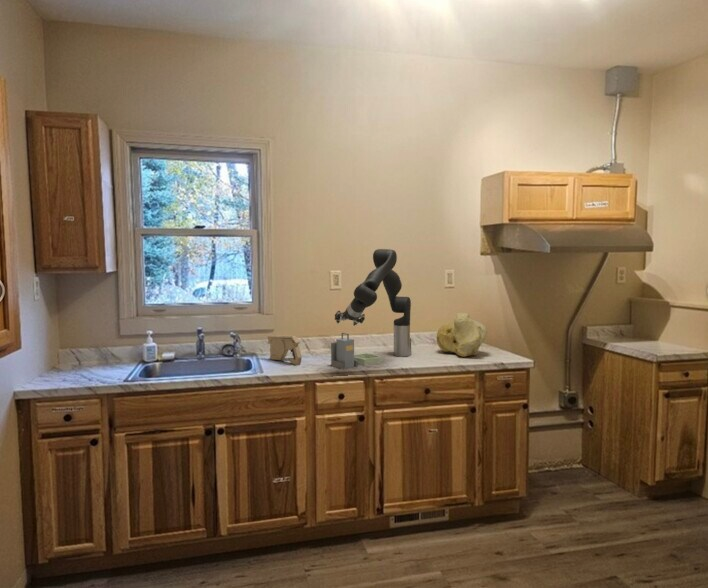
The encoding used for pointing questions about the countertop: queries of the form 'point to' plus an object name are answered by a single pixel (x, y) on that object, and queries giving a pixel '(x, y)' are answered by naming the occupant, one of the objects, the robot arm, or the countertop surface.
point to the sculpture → (461, 335)
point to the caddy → (345, 351)
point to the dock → (334, 359)
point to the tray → (367, 358)
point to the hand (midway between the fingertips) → (345, 322)
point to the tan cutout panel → (284, 348)
